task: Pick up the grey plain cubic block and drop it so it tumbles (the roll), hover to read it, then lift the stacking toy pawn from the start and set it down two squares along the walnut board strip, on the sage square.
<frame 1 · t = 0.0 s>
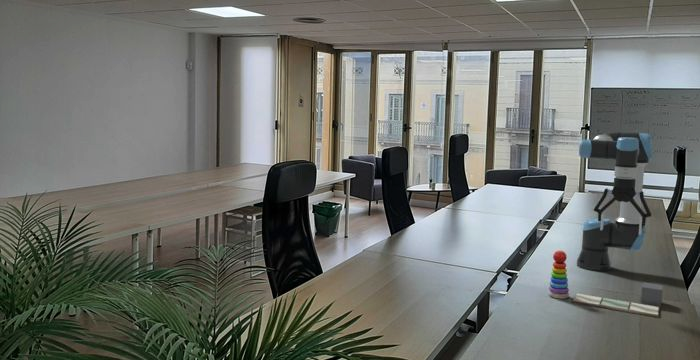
hand: (620, 231, 226), 28 cm above the table, fingers open, 13 cm apart
stacking toy: (558, 296, 235), on the table
board: (615, 305, 224), on the table
grey plain cubic block: (650, 303, 228), on the table
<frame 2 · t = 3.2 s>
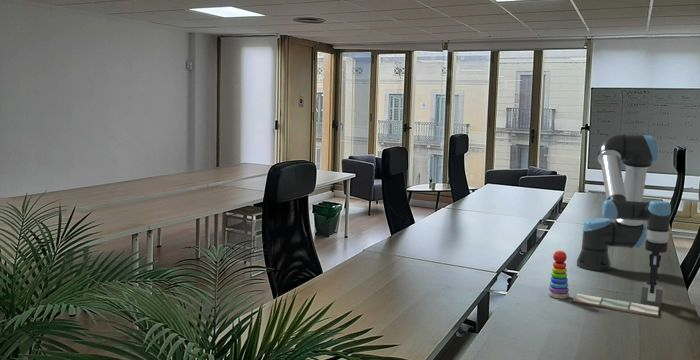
hand: (651, 297, 228), 2 cm above the table, fingers closed on grey plain cubic block, 7 cm apart
grey plain cubic block: (651, 303, 228), on the table, touching gripper
everything else where it was.
when the fingers open (15 cm above the table, at t = 4.4 s): grey plain cubic block drops 13 cm, on the table.
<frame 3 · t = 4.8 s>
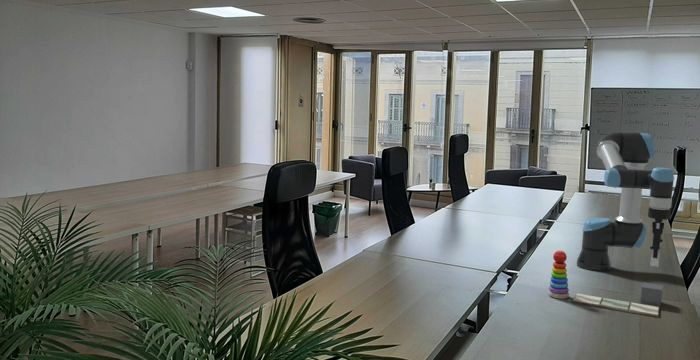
hand: (654, 262, 226), 17 cm above the table, fingers open, 13 cm apart
grey plain cubic block: (650, 303, 228), on the table
everything else where it was.
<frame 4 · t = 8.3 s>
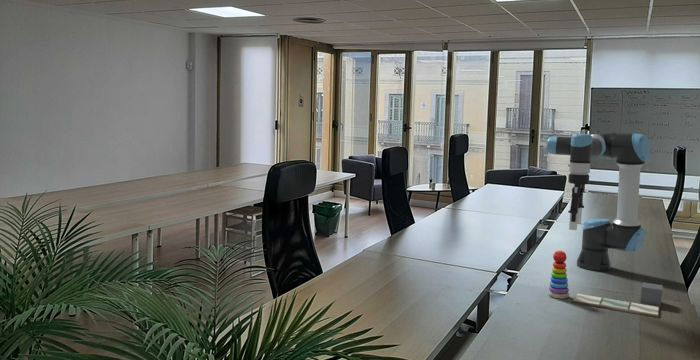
hand: (575, 226, 230), 29 cm above the table, fingers open, 13 cm apart
nothing on the table moved.
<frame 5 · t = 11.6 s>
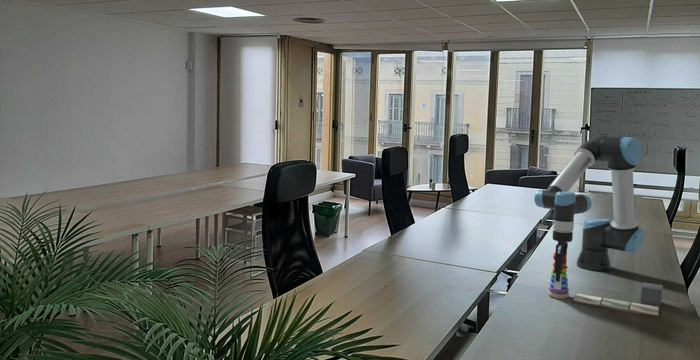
hand: (559, 286, 234), 4 cm above the table, fingers closed on stacking toy, 7 cm apart
stacking toy: (558, 296, 235), on the table, touching gripper
everything else where it was.
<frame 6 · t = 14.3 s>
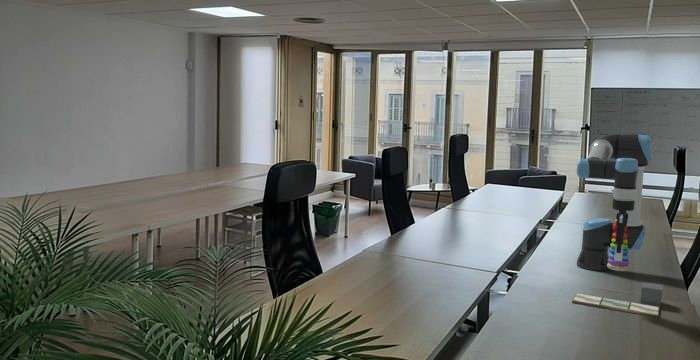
hand: (618, 258, 222), 19 cm above the table, fingers closed on stacking toy, 7 cm apart
stacking toy: (618, 269, 223), point 15 cm above the table, touching gripper
everything else where it was.
when the fingers open (5 cm above the table, at t = 17.0 s): stacking toy stays where it is, resting on board.
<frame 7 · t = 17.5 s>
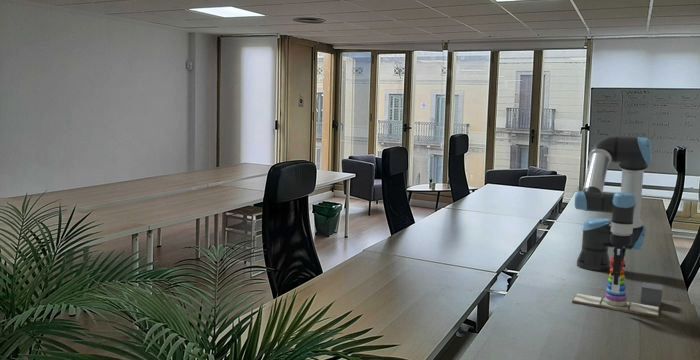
hand: (616, 287, 224), 7 cm above the table, fingers open, 13 cm apart
stacking toy: (615, 303, 224), point 1 cm above the table, touching board
everything else where it was.
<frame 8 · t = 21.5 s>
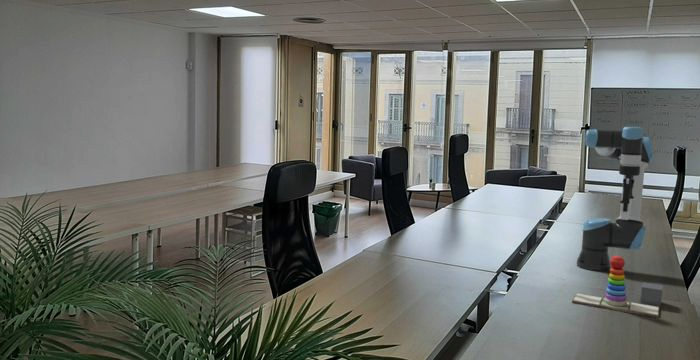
hand: (625, 216, 238), 32 cm above the table, fingers open, 13 cm apart
nothing on the table moved.
at the end: stacking toy inside the target area on the board (0.0 cm from its centre), point 0.7 cm above the board's base; stacking toy tilted 0°; the gripper is holding nothing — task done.
